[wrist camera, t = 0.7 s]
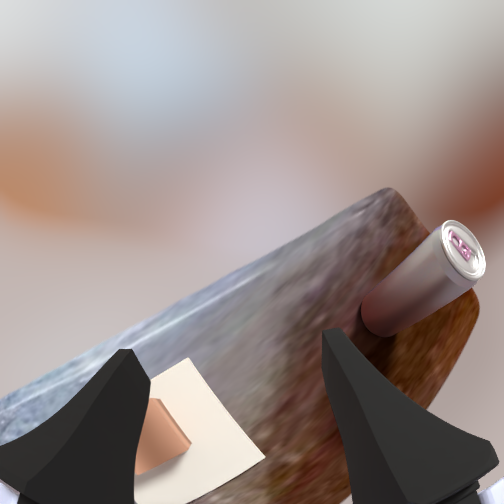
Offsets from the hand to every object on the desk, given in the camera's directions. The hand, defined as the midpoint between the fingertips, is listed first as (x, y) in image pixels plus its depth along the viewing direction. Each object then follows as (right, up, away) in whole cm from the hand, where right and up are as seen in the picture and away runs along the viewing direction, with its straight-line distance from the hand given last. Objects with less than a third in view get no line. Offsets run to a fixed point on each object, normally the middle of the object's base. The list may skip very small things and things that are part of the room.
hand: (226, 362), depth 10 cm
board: (-11, -16, +8) cm, 21 cm away
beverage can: (+16, -3, +20) cm, 26 cm away
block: (-8, -12, +10) cm, 18 cm away
